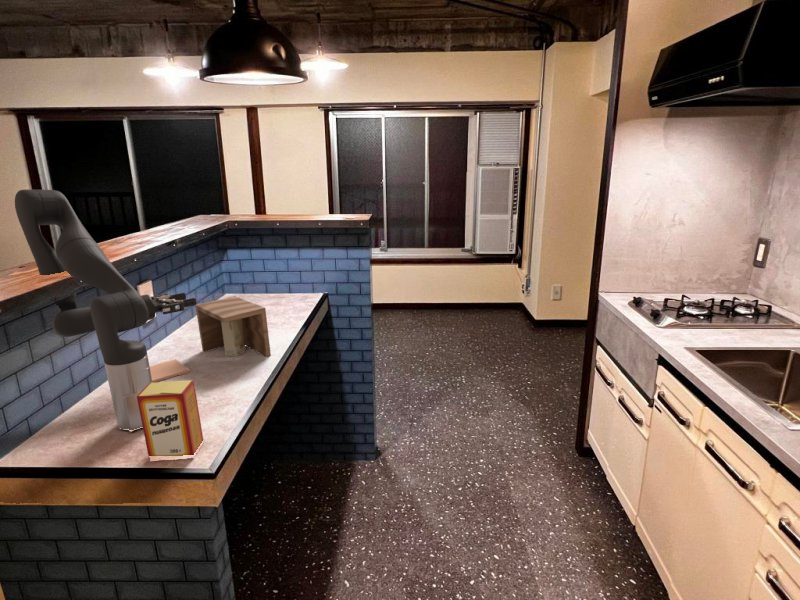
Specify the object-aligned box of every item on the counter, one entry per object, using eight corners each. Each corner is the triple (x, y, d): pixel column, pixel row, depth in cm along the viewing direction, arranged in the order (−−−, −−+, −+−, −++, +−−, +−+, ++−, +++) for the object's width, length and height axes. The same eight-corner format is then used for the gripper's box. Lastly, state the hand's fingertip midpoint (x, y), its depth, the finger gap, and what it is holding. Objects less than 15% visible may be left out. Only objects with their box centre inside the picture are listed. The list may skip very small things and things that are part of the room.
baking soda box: (149, 461, 107) (136, 394, 103) (161, 445, 114) (149, 381, 109) (194, 459, 108) (182, 392, 103) (203, 442, 114) (193, 378, 110)
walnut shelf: (270, 355, 164) (265, 307, 160) (230, 368, 155) (223, 318, 151) (240, 340, 180) (234, 296, 175) (202, 350, 171) (195, 304, 166)
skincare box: (237, 357, 164) (232, 322, 161) (225, 356, 165) (220, 321, 162) (246, 349, 170) (242, 315, 167) (235, 349, 171) (230, 315, 168)
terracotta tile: (189, 371, 154) (189, 369, 153) (148, 384, 146) (148, 381, 146) (175, 361, 162) (175, 359, 162) (136, 372, 154) (135, 370, 154)
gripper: (139, 302, 137) (197, 291, 148) (124, 293, 147) (180, 282, 158) (144, 328, 139) (201, 314, 150) (129, 317, 149) (183, 305, 160)
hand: (190, 298), depth 154 cm, fingers open, 8 cm apart
